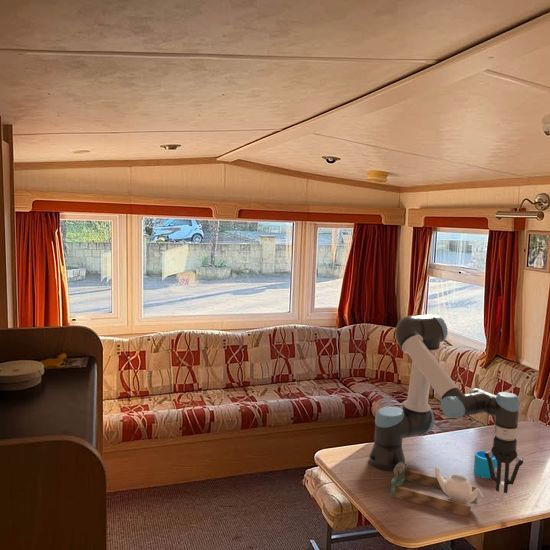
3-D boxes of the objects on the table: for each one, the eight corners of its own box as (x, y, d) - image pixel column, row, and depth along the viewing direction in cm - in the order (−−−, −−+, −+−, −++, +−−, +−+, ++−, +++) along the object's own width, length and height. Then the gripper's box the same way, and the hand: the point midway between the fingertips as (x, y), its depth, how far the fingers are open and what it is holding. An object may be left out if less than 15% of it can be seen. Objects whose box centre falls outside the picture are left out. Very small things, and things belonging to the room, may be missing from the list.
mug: (485, 480, 217) (486, 461, 216) (469, 471, 224) (470, 453, 223) (505, 474, 223) (506, 455, 222) (488, 466, 230) (490, 447, 229)
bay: (388, 495, 203) (389, 472, 202) (400, 476, 218) (401, 455, 217) (469, 517, 190) (471, 493, 189) (476, 495, 205) (477, 473, 204)
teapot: (476, 518, 189) (478, 493, 188) (426, 495, 204) (428, 472, 203) (489, 509, 195) (491, 484, 194) (440, 487, 210) (441, 465, 209)
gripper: (484, 436, 189) (480, 500, 192) (524, 444, 183) (520, 510, 186) (486, 429, 196) (483, 491, 198) (526, 437, 190) (521, 500, 192)
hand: (501, 500), depth 192 cm, fingers closed
